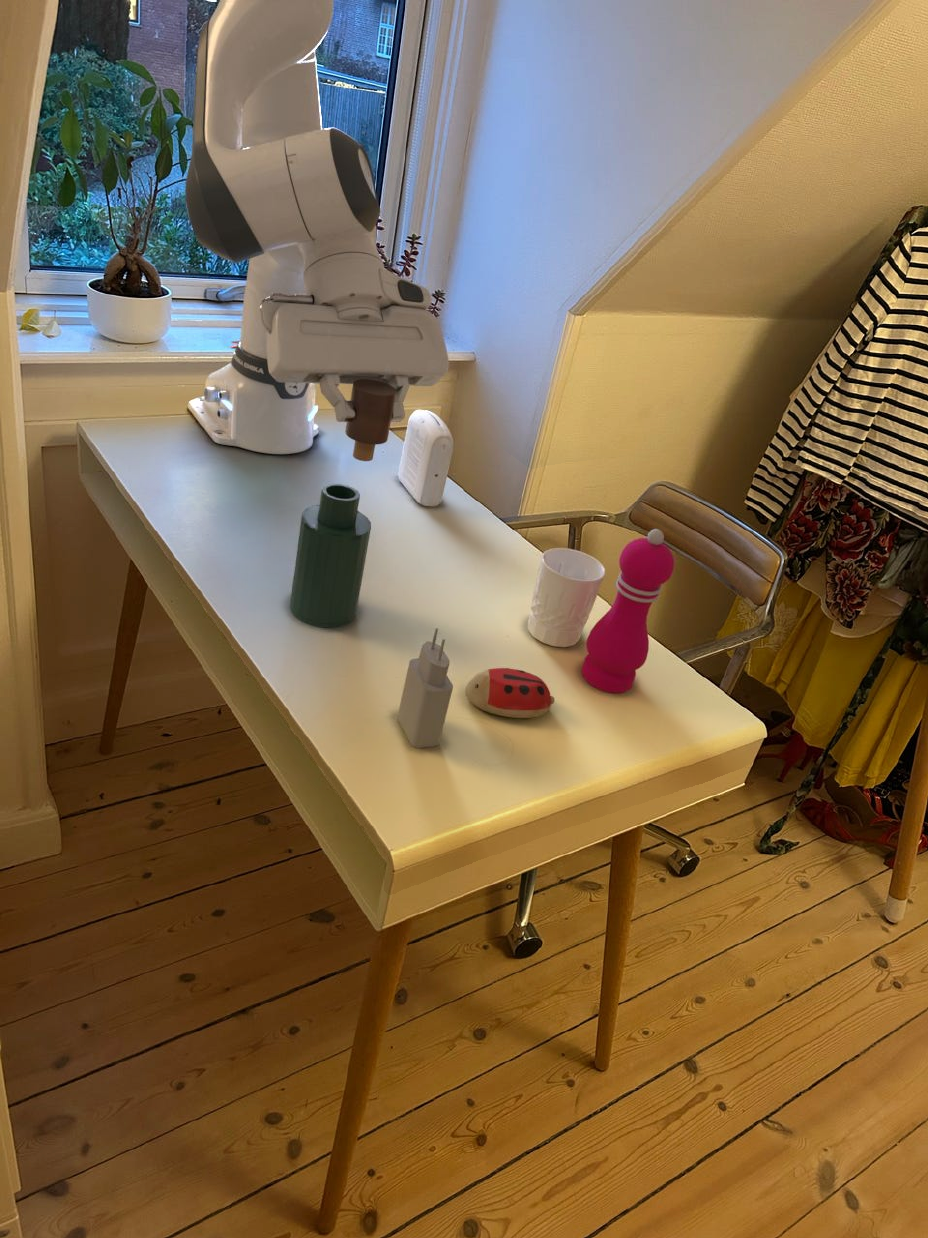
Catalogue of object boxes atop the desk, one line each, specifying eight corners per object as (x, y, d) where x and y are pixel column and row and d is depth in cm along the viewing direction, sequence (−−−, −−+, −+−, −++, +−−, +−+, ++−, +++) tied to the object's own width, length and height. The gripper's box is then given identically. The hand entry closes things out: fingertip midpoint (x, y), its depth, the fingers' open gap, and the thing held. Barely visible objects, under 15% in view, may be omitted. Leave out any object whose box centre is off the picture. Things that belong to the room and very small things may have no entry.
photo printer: (444, 507, 146) (461, 430, 140) (418, 507, 144) (434, 429, 138) (418, 476, 154) (433, 403, 147) (393, 476, 152) (407, 401, 145)
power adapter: (422, 712, 102) (444, 617, 96) (441, 745, 98) (465, 648, 92) (395, 714, 101) (415, 618, 95) (413, 748, 97) (435, 651, 91)
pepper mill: (634, 703, 112) (690, 553, 102) (574, 685, 113) (623, 534, 102) (637, 670, 118) (690, 525, 108) (580, 653, 119) (627, 508, 108)
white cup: (512, 616, 123) (531, 548, 118) (565, 614, 126) (585, 547, 121) (539, 652, 117) (560, 582, 112) (594, 648, 120) (617, 580, 115)
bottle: (277, 600, 115) (291, 481, 107) (331, 586, 120) (348, 472, 112) (314, 633, 111) (332, 513, 103) (368, 618, 116) (389, 502, 108)
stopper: (333, 450, 106) (344, 380, 102) (366, 446, 109) (378, 377, 105) (358, 468, 103) (370, 396, 99) (391, 463, 106) (405, 393, 102)
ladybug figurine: (461, 680, 109) (467, 654, 107) (545, 690, 111) (553, 664, 109) (466, 717, 103) (473, 690, 101) (555, 727, 105) (564, 701, 103)
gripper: (266, 276, 97) (290, 407, 95) (442, 291, 107) (466, 409, 106) (247, 306, 102) (269, 431, 100) (416, 317, 113) (439, 430, 111)
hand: (372, 420), depth 103 cm, fingers closed on stopper, 4 cm apart
